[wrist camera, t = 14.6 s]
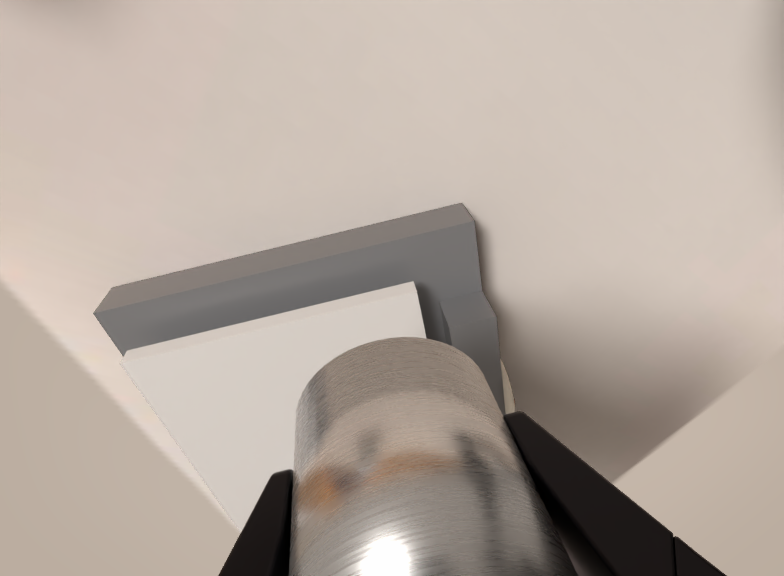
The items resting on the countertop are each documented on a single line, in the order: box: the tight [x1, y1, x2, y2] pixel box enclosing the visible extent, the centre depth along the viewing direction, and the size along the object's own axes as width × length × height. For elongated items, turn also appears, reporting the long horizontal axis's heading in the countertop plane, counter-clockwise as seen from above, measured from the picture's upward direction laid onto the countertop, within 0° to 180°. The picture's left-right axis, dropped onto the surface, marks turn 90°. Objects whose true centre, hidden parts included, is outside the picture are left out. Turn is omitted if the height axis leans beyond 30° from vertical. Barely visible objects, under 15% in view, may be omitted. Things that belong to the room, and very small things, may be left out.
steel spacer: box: [289, 337, 578, 576], centre depth 8 cm, size 4×4×5 cm
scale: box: [93, 203, 515, 533], centre depth 23 cm, size 16×17×5 cm
